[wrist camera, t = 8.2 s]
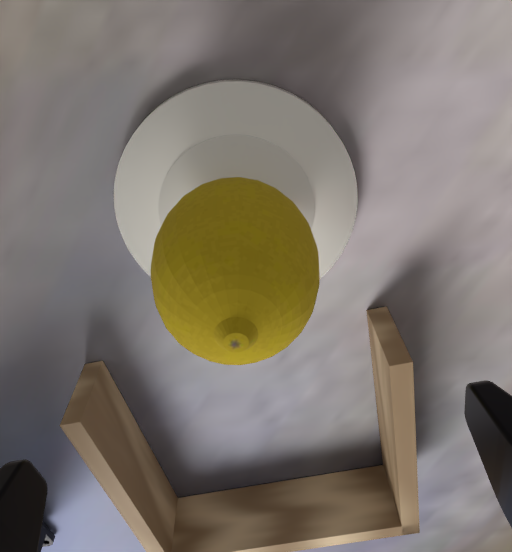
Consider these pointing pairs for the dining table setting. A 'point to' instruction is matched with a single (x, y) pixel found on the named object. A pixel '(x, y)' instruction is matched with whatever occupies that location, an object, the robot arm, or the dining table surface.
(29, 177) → the dining table surface
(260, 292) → the lemon
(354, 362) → the dining table surface
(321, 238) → the saucer
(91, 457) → the oak frame
